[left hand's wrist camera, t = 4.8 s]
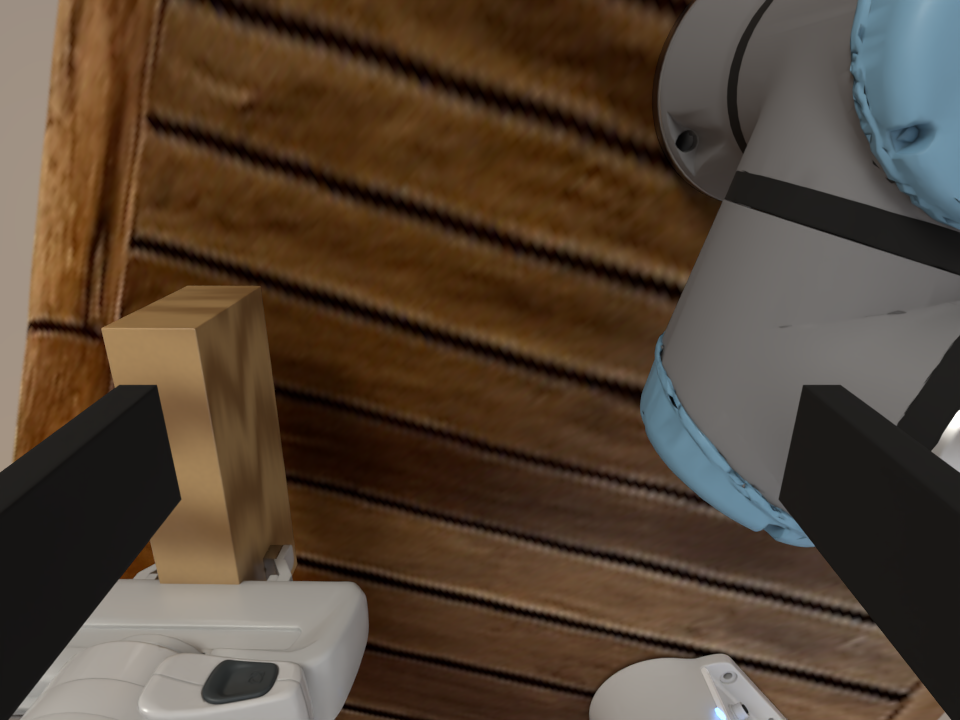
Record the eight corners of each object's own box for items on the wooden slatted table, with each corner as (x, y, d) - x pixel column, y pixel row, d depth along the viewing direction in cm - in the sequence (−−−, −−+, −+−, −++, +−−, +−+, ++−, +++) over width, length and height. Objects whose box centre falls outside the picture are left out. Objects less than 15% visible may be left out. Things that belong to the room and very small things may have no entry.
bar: (187, 285, 40) (100, 328, 31) (261, 285, 40) (194, 328, 31) (235, 563, 47) (177, 660, 39) (297, 564, 47) (253, 661, 39)
